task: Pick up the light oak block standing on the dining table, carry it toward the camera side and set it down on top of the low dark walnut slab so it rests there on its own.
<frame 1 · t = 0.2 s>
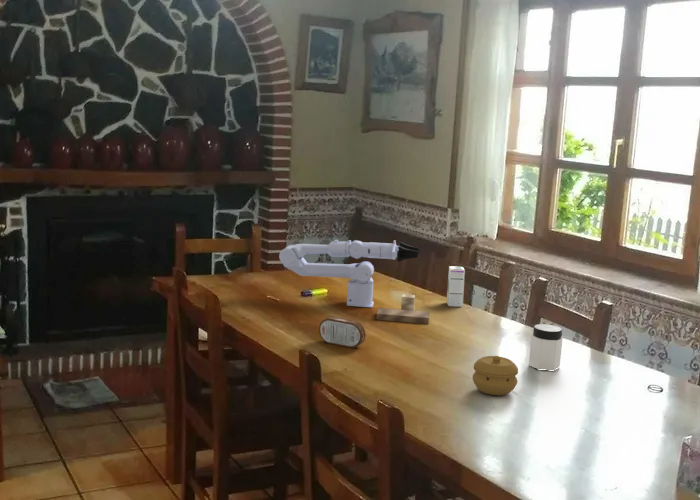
hand: (418, 252, 295), 21 cm above the table, tool horizontal, fingers open, 7 cm apart
tin: (340, 345, 249), on the table
syrup box: (454, 305, 309), on the table
walnut slab: (403, 318, 284), on the table
jar: (543, 367, 238), on the table
oak block: (407, 312, 294), on the table
pot: (493, 392, 215), on the table
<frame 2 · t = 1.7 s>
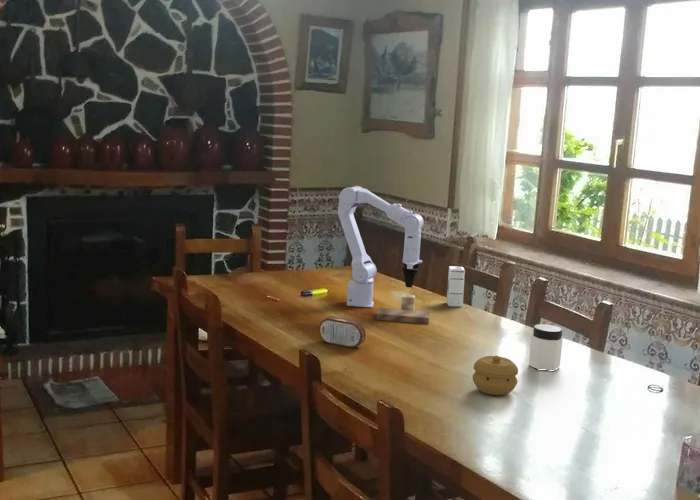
hand: (409, 284, 292), 10 cm above the table, tool pointing down, fingers open, 7 cm apart
nothing on the table moved.
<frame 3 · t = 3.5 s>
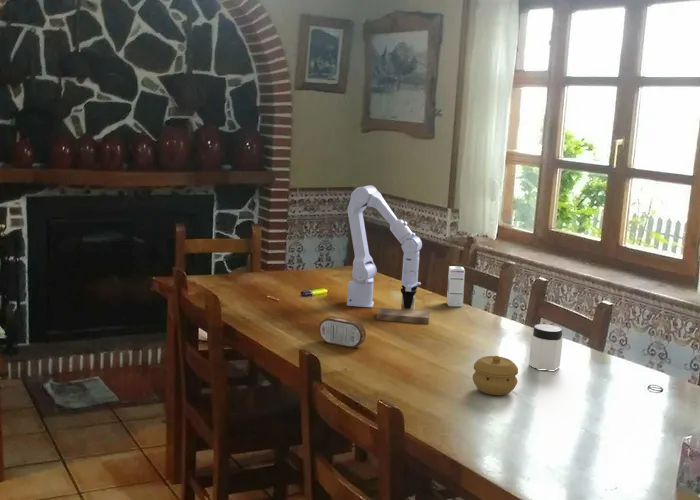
hand: (407, 306, 293), 2 cm above the table, tool pointing down, fingers closed on oak block, 4 cm apart
oak block: (407, 311, 294), on the table, touching gripper
everything else where it was.
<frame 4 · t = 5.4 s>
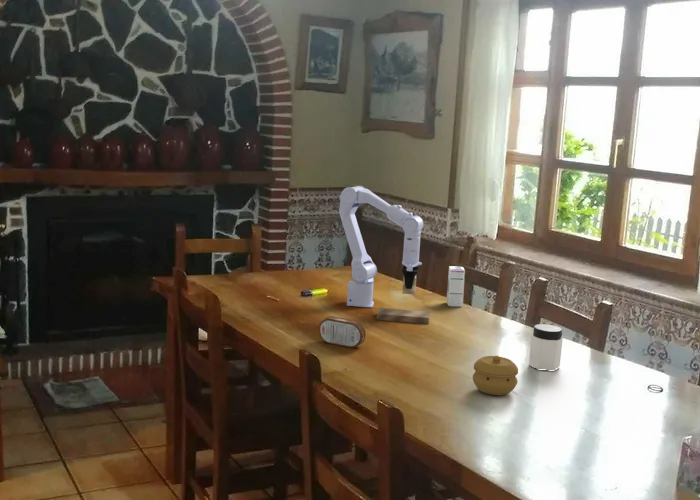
hand: (408, 287, 291), 9 cm above the table, tool pointing down, fingers closed on oak block, 4 cm apart
oak block: (408, 292, 292), point 7 cm above the table, touching gripper
everything else where it was.
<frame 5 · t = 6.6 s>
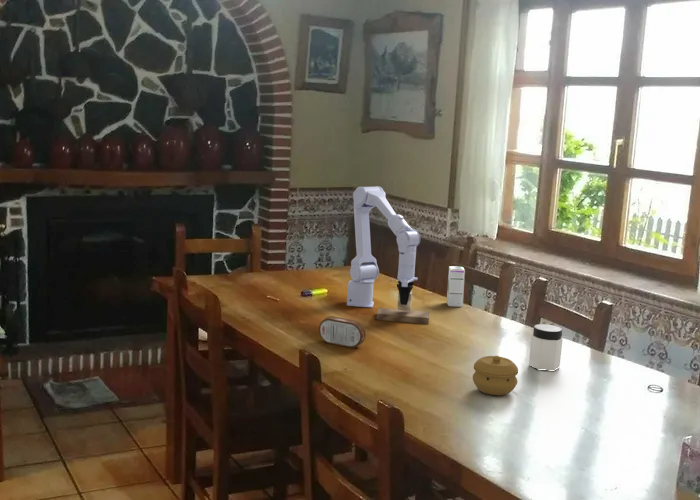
hand: (404, 302, 283), 6 cm above the table, tool pointing down, fingers closed on oak block, 4 cm apart
oak block: (404, 308, 283), point 4 cm above the table, touching gripper
everything else where it was.
when the fingers open (5 cm above the table, at t = 7.7 s): oak block stays where it is, resting on walnut slab.
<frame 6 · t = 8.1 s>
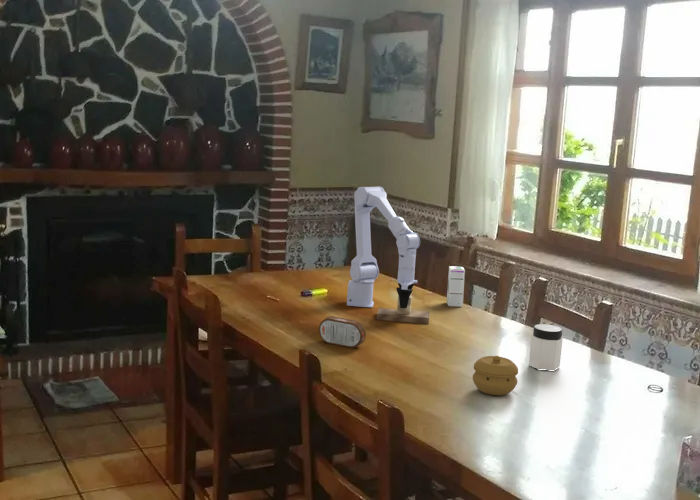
hand: (404, 305, 283), 5 cm above the table, tool pointing down, fingers open, 7 cm apart
oak block: (403, 312, 284), point 2 cm above the table, touching walnut slab
everything else where it was.
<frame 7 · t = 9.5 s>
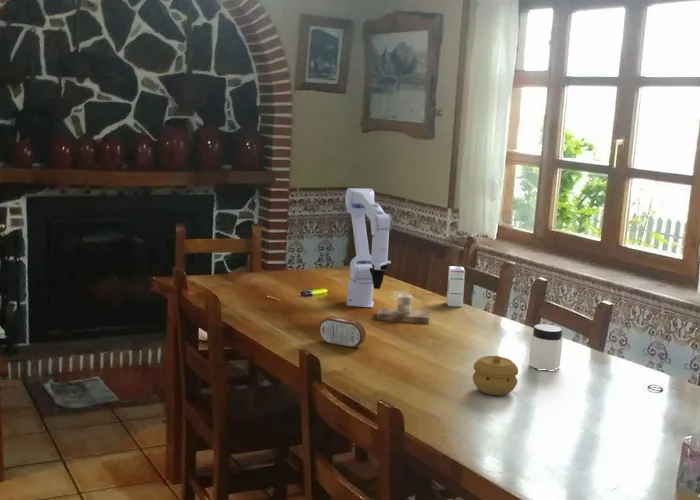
hand: (377, 286, 285), 10 cm above the table, tool pointing down, fingers open, 7 cm apart
nothing on the table moved.
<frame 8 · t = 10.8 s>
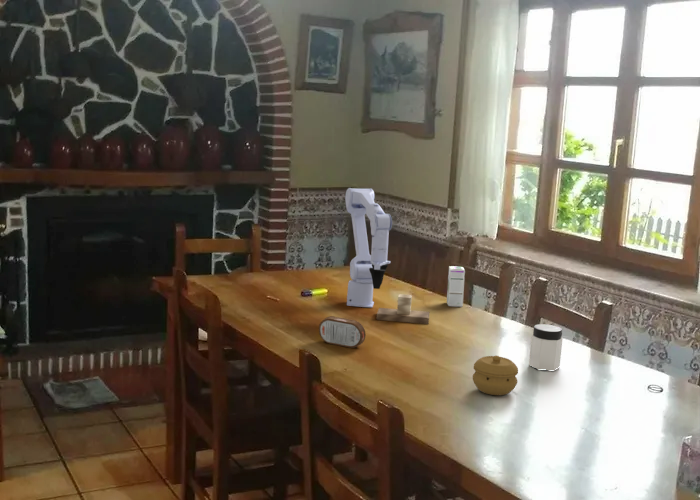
hand: (377, 286, 285), 10 cm above the table, tool pointing down, fingers open, 7 cm apart
nothing on the table moved.
at the end: oak block inside the target area on the walnut slab (0.1 cm from its centre), point 2.1 cm above the walnut slab's base; oak block tilted 0°; the gripper is holding nothing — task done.
